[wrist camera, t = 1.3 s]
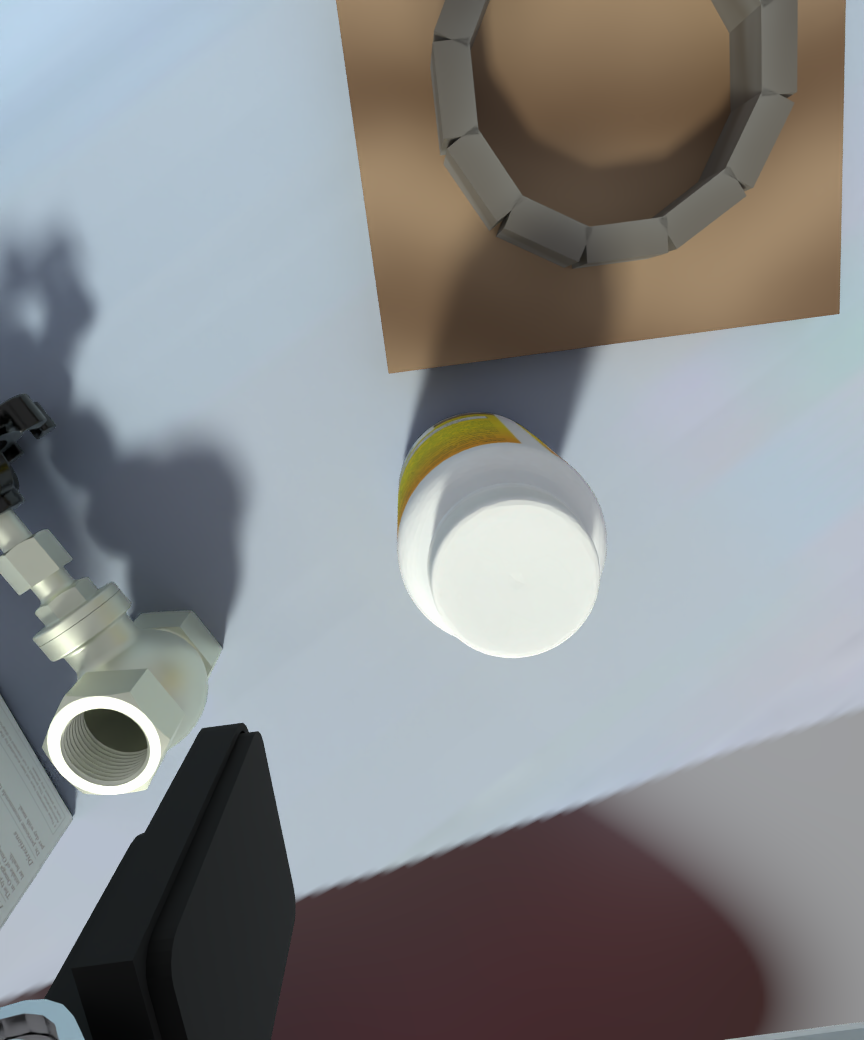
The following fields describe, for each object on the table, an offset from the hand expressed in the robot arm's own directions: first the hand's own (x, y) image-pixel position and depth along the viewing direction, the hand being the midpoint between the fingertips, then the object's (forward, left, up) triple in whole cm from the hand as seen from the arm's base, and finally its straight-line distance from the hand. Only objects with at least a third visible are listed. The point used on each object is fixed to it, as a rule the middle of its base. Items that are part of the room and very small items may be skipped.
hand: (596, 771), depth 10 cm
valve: (+1, -14, -17) cm, 22 cm away
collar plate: (-12, +5, -17) cm, 22 cm away
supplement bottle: (0, 0, -17) cm, 17 cm away
